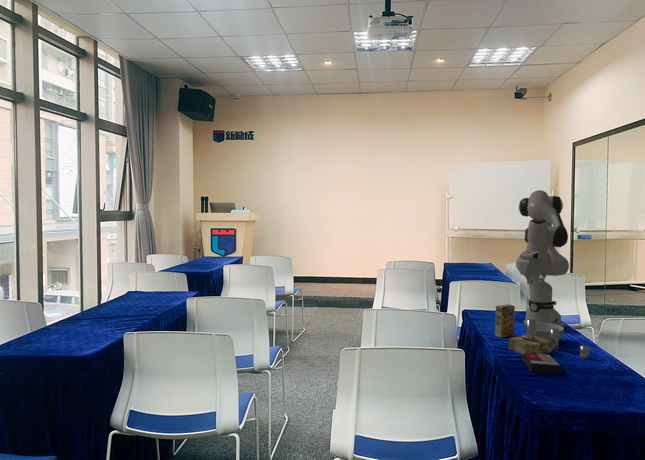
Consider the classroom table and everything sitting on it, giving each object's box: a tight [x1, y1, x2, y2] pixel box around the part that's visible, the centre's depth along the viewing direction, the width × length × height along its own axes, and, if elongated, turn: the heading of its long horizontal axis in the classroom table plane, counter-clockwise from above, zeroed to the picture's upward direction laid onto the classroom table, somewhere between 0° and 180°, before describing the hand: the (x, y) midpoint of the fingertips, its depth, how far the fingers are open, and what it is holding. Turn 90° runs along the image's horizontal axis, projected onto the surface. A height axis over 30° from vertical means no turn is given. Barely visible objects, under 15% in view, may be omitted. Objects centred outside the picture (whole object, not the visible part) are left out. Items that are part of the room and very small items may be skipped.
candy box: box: [494, 304, 516, 338], centre depth 233 cm, size 9×4×15 cm, turn 113°
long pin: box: [525, 319, 536, 342], centre depth 210 cm, size 4×4×14 cm
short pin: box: [579, 344, 591, 360], centre depth 201 cm, size 4×4×5 cm
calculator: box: [522, 353, 562, 375], centre depth 190 cm, size 11×4×15 cm
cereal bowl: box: [525, 322, 565, 341], centre depth 225 cm, size 17×17×7 cm
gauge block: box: [507, 334, 553, 355], centre depth 210 cm, size 14×12×5 cm
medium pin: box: [550, 328, 560, 351], centre depth 213 cm, size 4×4×9 cm
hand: (535, 283), depth 218 cm, fingers open, 8 cm apart
